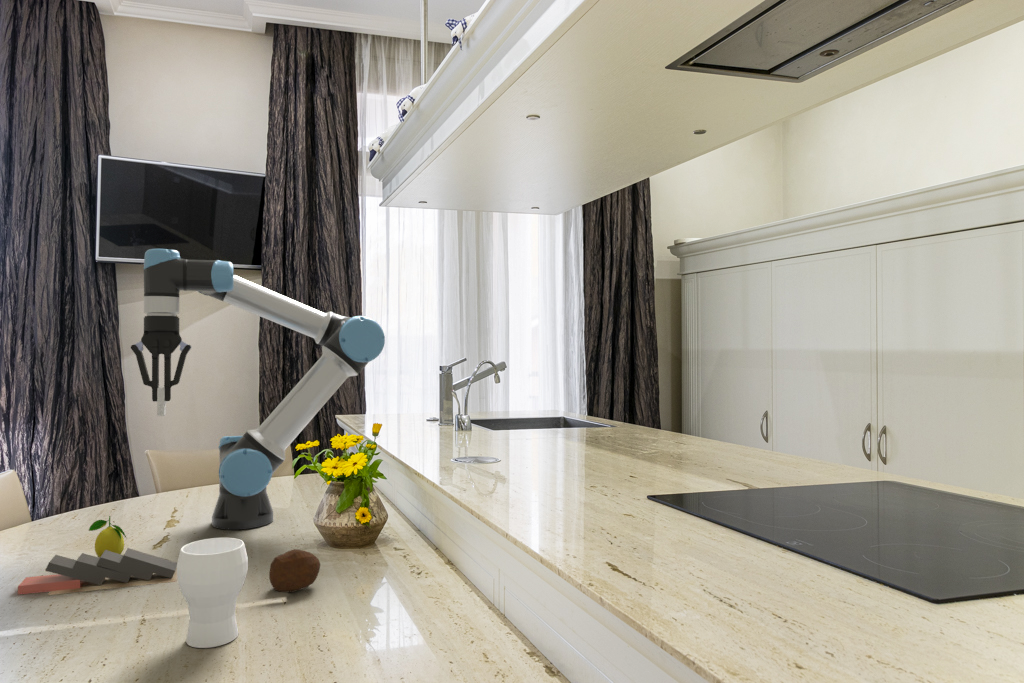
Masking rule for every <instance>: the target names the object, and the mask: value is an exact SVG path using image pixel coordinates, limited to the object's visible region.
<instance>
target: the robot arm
mask: <svg viewBox="0 0 1024 683" xmlns="http://www.w3.org/2000/svg"><path fill="white" fill-rule="evenodd" d="M143 259H144V260H143V263H144V264H143V313H144V314H146V315H145V316H144V317H143V334H142V336H141V340H140V341H139V342H137V343H135V344H132V345H130V349H131V350H132V352H133V353H134V355H135V357H136V361H137V364H138V365H137V366H138V368H139V369H138V370H139V372H140V376H141V379H142V383H143V385H144V386H147V387H150V388H151V401H152V402H156V405H157V406H156V411H157V412H156V413H157V414H156V416H157V417H164V416H166V414H167V413H166V408H167V406H166V402H170V401H171V399H172V387H174V386H176V385H178V384H179V383H180V381H181V378H182V373H183V369H184V366H185V362H186V359H187V355H188V353H189V352H190V351H191V350H192V345H191V344H188V343H186V342H184V341H183V339H182V337H181V335H180V317H179V316H178V315H179V314H180V291H185V292H187V291H188V292H190V291H191V292H198V293H199V294H202V295H204V296H209V297H211V298H214V299H215V300H219V301H222V302H223V303H227V304H228V305H232V306H234V307H236V308H238V309H241V310H243V311H246V312H248V313H251V314H253V315H255V316H258V317H261V318H262V319H266V320H267V321H268V320H269V321H271V322H273V323H276V324H278V325H281V326H283V327H285V328H287V329H290V330H293V331H295V332H297V333H299V334H301V335H304V336H307V337H310V338H312V339H313V340H314V342H315V344H317V345H319V346H321V351H322V352H321V354H322V355H321V356H320V357H319V359H318V360H317V361H316V362H315V363H314V364H313V366H311V368H310V369H309V370H308V371H307V372H306V373H305V374H304V376H303V377H302V378H300V380H299V381H298V382H297V383H296V385H294V386H293V387H292V389H291V390H290V392H288V394H287V395H286V396H285V397H284V398H283V399H282V400H281V402H280V403H279V404H278V405H277V406H276V408H274V409H273V411H272V412H271V413H270V414H269V415H267V416H268V417H267V418H265V419H264V421H263V422H262V423H261V424H260V425H259V426H258V427H257V428H255V429H248V430H247V431H246V432H245V433H244V434H243V435H230V436H222V437H221V438H220V440H219V446H218V450H219V459H218V460H219V462H218V463H219V467H218V468H219V469H218V479H219V480H218V482H219V483H218V484H219V485H218V486H219V492H218V497H217V501H216V504H215V506H214V510H213V513H212V516H211V526H212V527H213V528H216V529H220V530H229V531H230V530H232V531H233V530H246V529H253V528H259V527H263V526H266V525H269V524H271V523H272V522H273V521H274V509H273V507H272V504H271V501H270V498H269V495H268V492H267V486H268V485H269V484H270V481H271V479H272V478H273V474H274V473H275V472H276V471H277V470H278V468H279V467H280V466H281V465H282V464H283V463H284V461H285V460H286V450H287V448H288V447H289V446H290V445H291V444H292V443H293V442H294V441H295V439H296V438H297V437H298V436H299V434H301V432H302V431H303V430H304V429H305V428H306V427H307V425H308V424H310V422H311V421H312V420H313V419H314V417H315V416H316V415H317V414H318V412H320V411H321V409H322V408H323V406H325V405H326V403H327V402H328V401H329V400H330V399H331V397H332V396H333V395H335V393H336V392H337V391H338V389H339V388H340V387H341V386H342V385H343V383H345V381H346V380H347V379H348V378H349V377H355V376H358V375H359V374H361V372H362V371H363V370H364V368H365V367H366V366H367V365H368V364H369V363H370V362H372V361H373V360H375V359H376V358H378V357H379V356H380V354H381V353H383V352H382V351H383V349H384V348H385V343H386V342H385V340H386V339H385V338H386V337H385V336H386V335H385V333H384V330H383V329H382V326H381V325H380V324H379V323H378V322H377V321H376V320H375V319H373V318H371V317H368V316H366V315H356V316H354V315H353V316H352V317H350V316H344V315H341V314H338V313H335V312H333V311H327V312H323V311H320V309H319V310H318V309H316V308H313V307H311V306H310V305H306V304H304V303H302V302H299V301H298V300H295V299H292V298H290V297H288V296H286V295H283V294H280V293H278V292H277V291H273V290H272V289H268V288H267V287H264V286H262V285H259V284H257V283H254V282H253V281H249V280H247V279H245V278H242V277H240V276H238V275H236V274H234V264H233V262H231V261H227V260H219V259H216V260H215V259H214V260H211V259H210V260H207V259H187V258H186V259H185V258H181V256H180V251H178V250H176V249H170V248H169V249H167V248H150V249H147V250H146V251H145V253H144V258H143ZM144 347H145V348H146V349H147V351H148V352H149V353H150V354H151V379H150V375H149V370H148V369H147V367H148V366H147V363H146V361H145V360H146V359H145V357H144V353H143V351H144ZM178 347H179V351H180V354H179V356H178V360H177V361H178V362H177V365H176V369H175V373H174V376H173V380H172V354H173V353H174V352H175V351H176V349H177V348H178ZM160 355H163V359H164V361H163V364H164V365H163V367H164V368H163V369H164V370H163V371H164V372H163V373H164V374H163V376H164V378H163V379H164V380H163V382H164V385H163V387H162V386H161V387H160V378H159V377H160Z"/></svg>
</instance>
